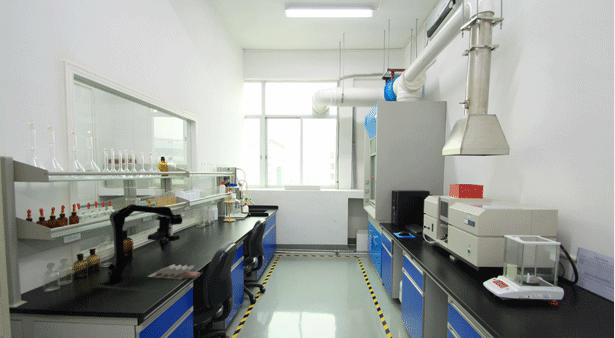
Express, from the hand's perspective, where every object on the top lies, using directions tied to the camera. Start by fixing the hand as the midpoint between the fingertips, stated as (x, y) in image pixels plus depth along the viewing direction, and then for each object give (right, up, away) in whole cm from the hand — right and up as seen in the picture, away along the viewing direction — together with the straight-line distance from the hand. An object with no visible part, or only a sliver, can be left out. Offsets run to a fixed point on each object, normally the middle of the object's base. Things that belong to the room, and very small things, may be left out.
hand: (163, 250), depth 160 cm
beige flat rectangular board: (+10, -12, -9) cm, 18 cm away
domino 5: (+17, -11, -10) cm, 23 cm away
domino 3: (+10, -11, -9) cm, 17 cm away
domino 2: (+6, -11, -8) cm, 15 cm away
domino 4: (+14, -11, -10) cm, 20 cm away
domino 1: (+2, -11, -8) cm, 13 cm away
